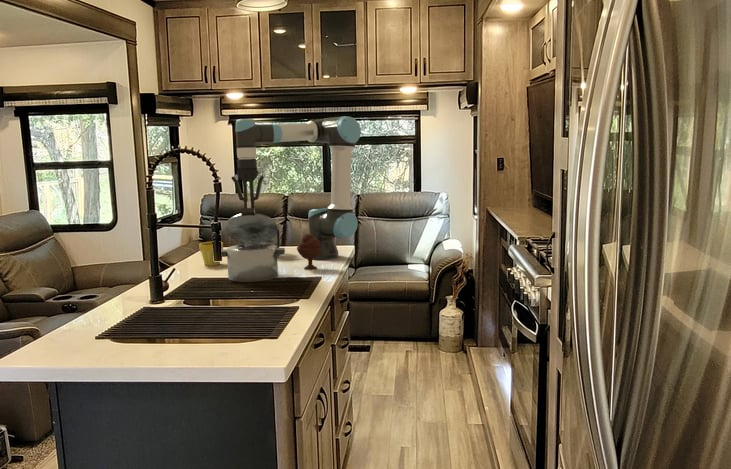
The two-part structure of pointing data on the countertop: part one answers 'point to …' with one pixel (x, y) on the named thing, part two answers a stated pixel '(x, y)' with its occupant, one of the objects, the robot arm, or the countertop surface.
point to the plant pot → (208, 253)
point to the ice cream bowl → (309, 249)
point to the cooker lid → (251, 227)
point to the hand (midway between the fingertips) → (250, 217)
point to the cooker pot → (252, 262)
